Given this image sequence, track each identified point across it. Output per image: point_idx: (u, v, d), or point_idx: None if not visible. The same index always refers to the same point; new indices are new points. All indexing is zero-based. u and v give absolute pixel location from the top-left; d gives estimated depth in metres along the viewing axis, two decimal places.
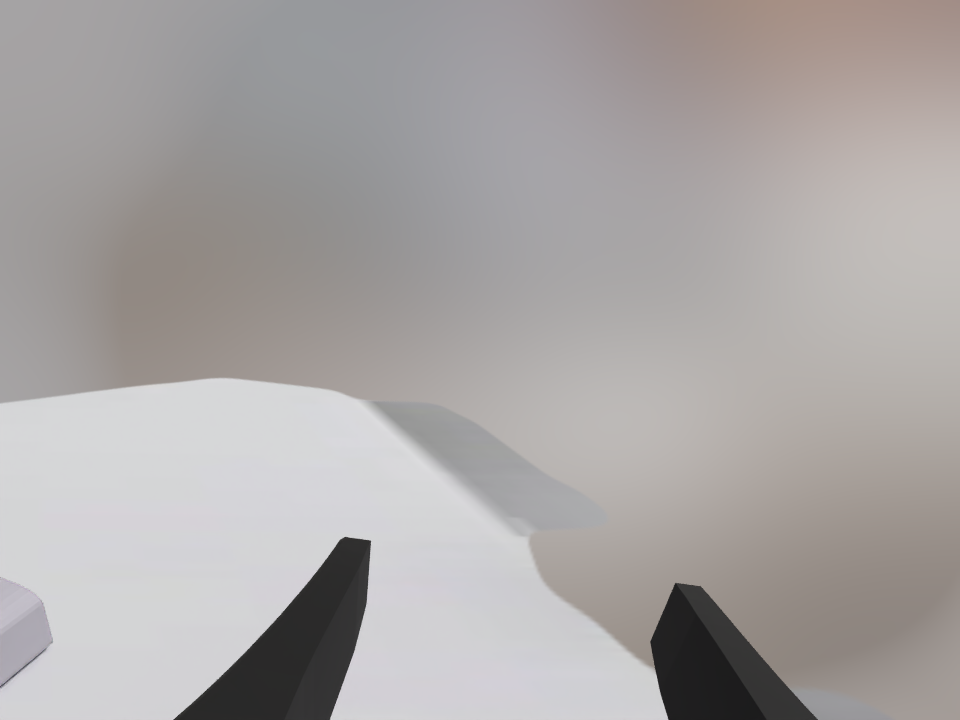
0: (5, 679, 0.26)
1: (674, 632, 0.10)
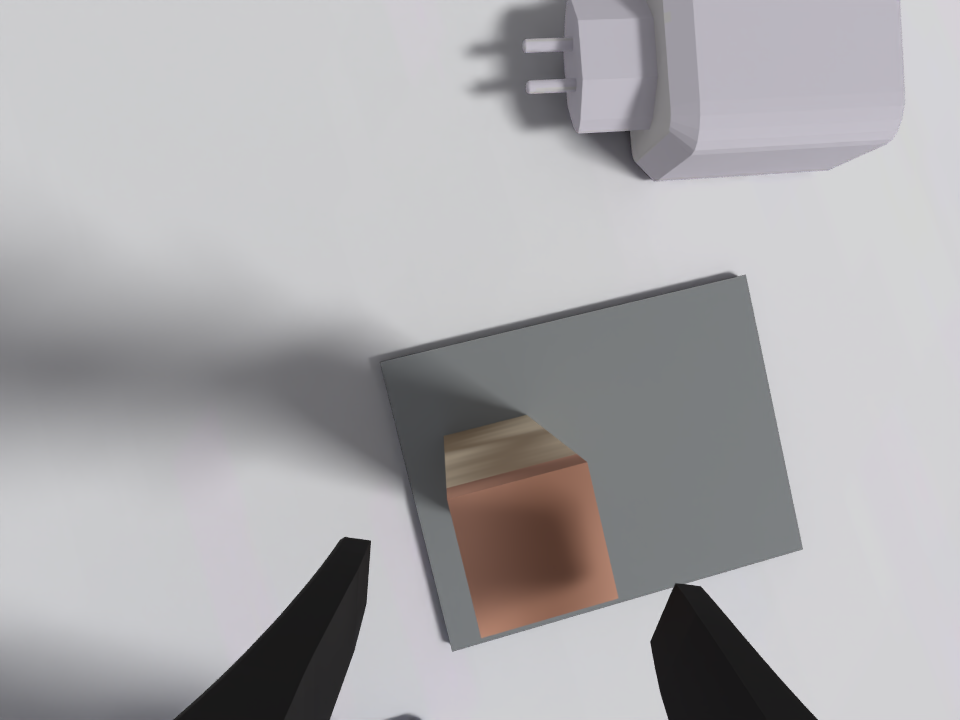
0: None
1: (674, 632, 0.10)
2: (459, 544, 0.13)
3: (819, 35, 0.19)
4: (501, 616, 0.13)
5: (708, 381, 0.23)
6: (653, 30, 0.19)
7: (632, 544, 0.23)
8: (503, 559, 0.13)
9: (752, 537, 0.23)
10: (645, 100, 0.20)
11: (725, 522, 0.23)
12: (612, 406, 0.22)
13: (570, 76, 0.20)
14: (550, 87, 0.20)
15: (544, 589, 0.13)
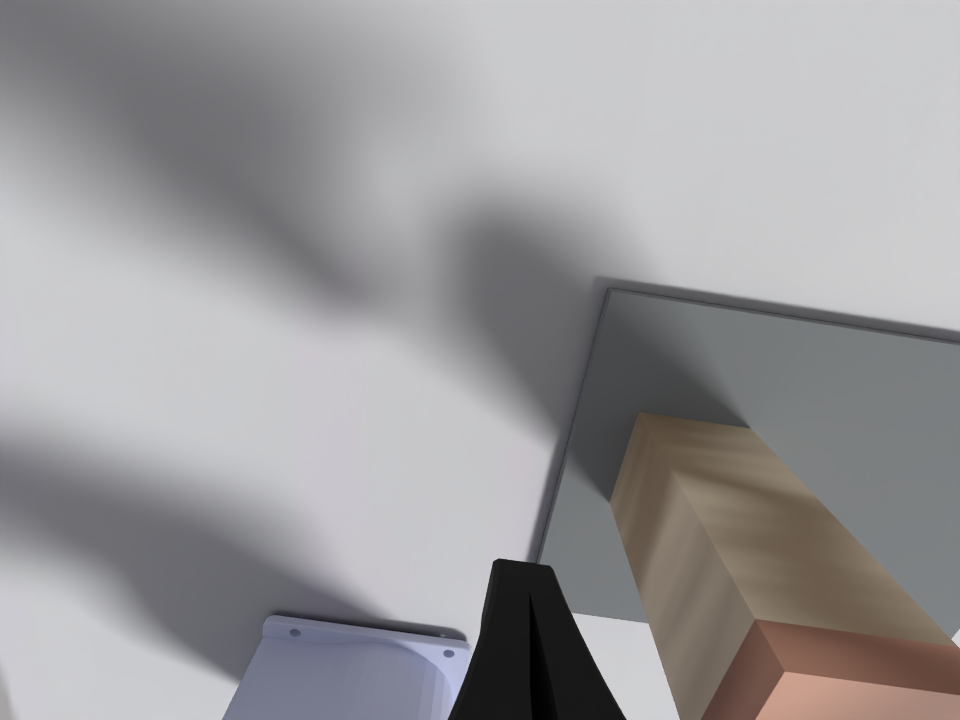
0: None
1: None
2: (757, 717, 0.09)
3: None
4: None
5: None
6: None
7: None
8: None
9: None
10: None
11: None
12: (857, 460, 0.17)
13: None
14: None
15: None
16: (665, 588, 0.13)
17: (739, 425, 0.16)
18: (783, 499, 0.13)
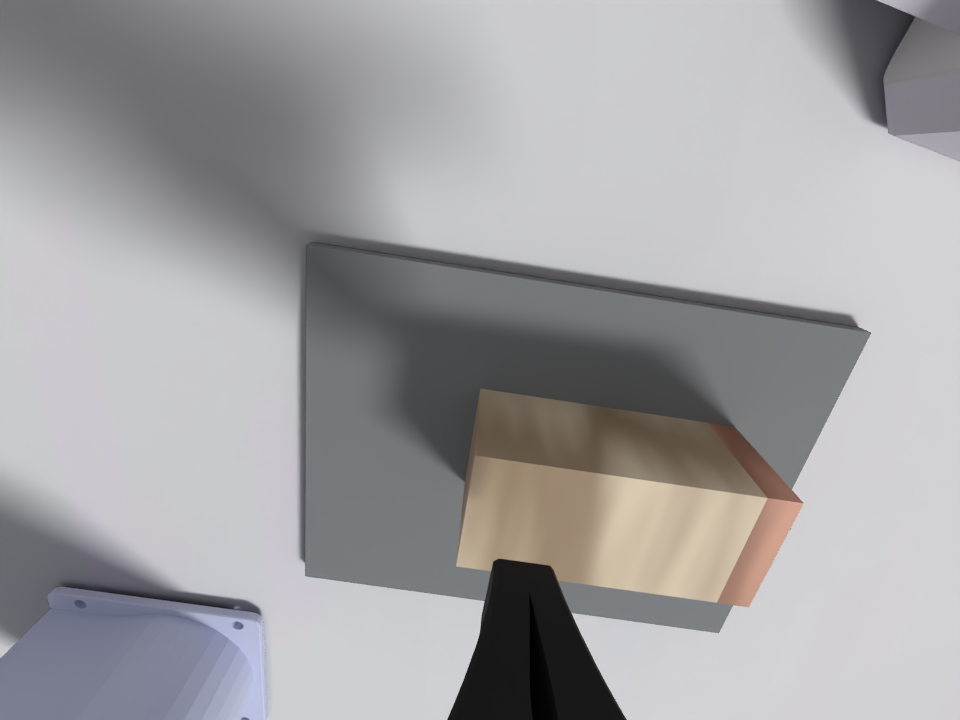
0: None
1: None
2: (782, 538, 0.13)
3: None
4: None
5: None
6: None
7: None
8: None
9: (673, 604, 0.20)
10: None
11: None
12: None
13: None
14: None
15: None
16: (637, 553, 0.14)
17: (467, 385, 0.16)
18: (600, 422, 0.15)
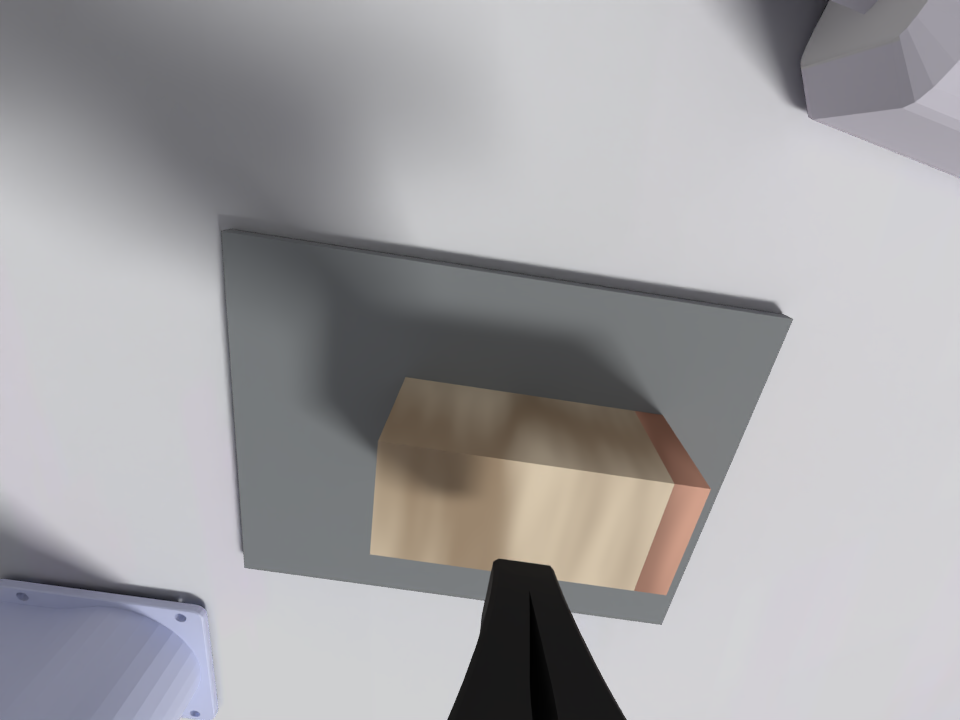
0: None
1: None
2: (693, 525, 0.13)
3: None
4: None
5: None
6: None
7: None
8: None
9: (614, 595, 0.20)
10: None
11: None
12: None
13: None
14: None
15: None
16: (550, 540, 0.13)
17: (391, 373, 0.16)
18: (521, 409, 0.15)
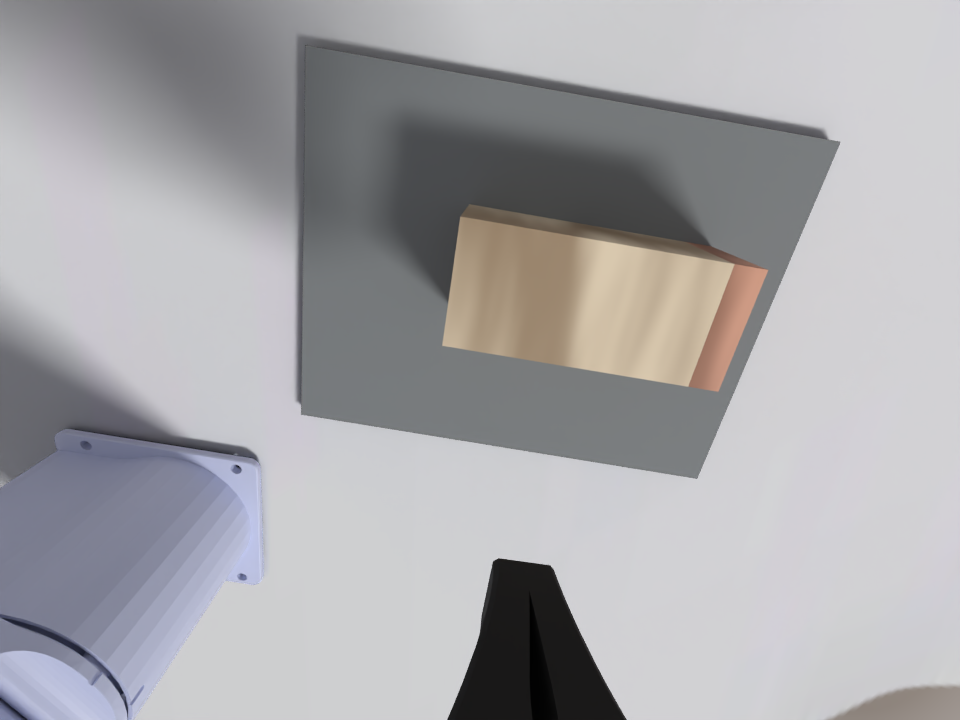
0: None
1: None
2: (749, 312, 0.14)
3: None
4: None
5: None
6: None
7: (525, 398, 0.20)
8: None
9: (653, 446, 0.21)
10: None
11: (633, 420, 0.20)
12: None
13: None
14: None
15: None
16: (613, 329, 0.14)
17: (456, 200, 0.17)
18: (581, 226, 0.16)
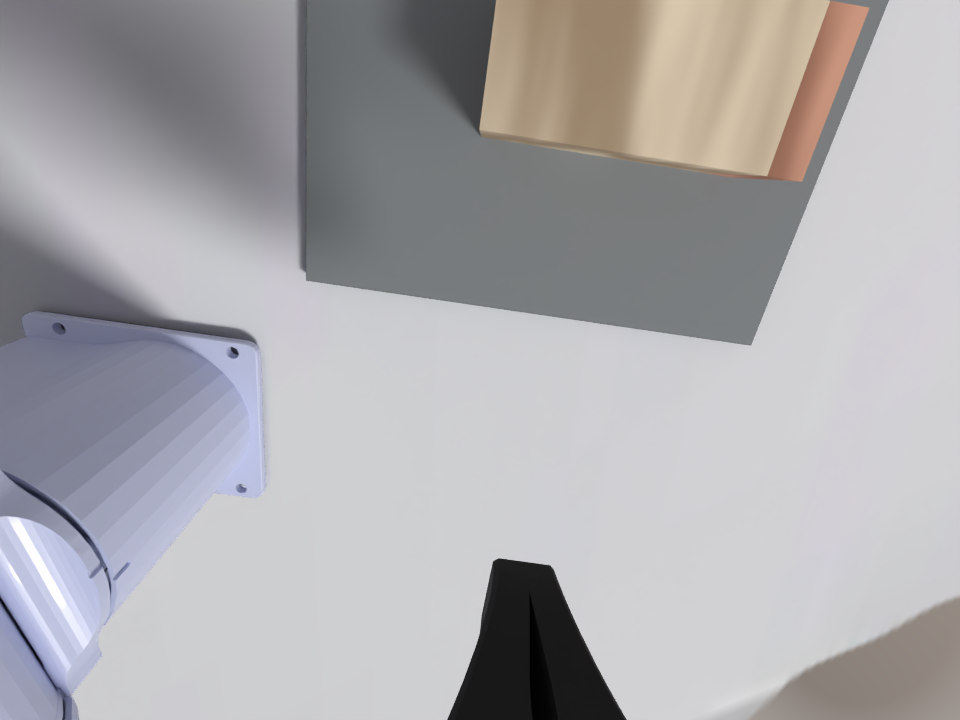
0: None
1: None
2: (843, 69, 0.12)
3: None
4: None
5: None
6: None
7: (561, 250, 0.18)
8: None
9: (704, 306, 0.18)
10: None
11: (682, 274, 0.18)
12: None
13: None
14: None
15: None
16: (682, 99, 0.12)
17: None
18: None
